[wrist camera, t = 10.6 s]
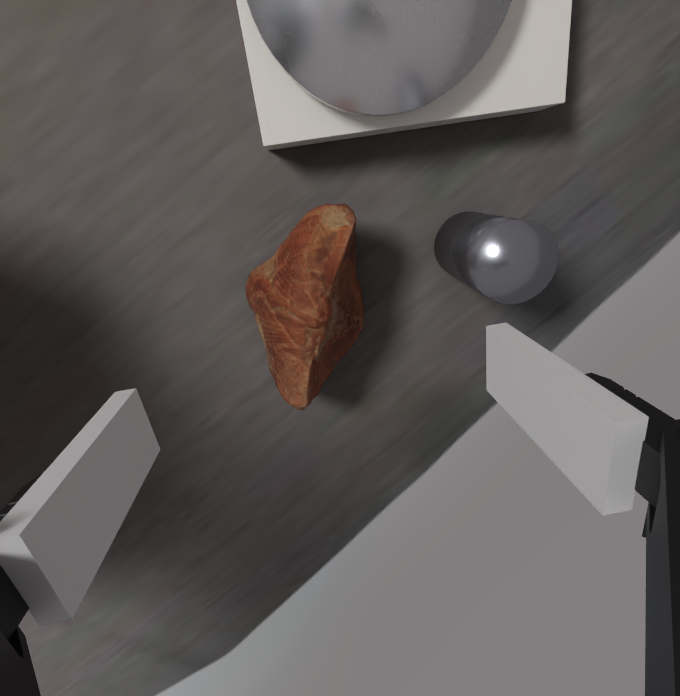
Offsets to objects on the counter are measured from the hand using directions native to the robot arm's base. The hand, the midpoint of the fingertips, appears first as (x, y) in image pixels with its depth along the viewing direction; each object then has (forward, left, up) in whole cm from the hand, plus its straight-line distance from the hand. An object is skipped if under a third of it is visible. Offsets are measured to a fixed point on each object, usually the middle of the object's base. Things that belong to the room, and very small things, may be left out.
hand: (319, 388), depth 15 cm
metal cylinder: (+11, +2, -16) cm, 20 cm away
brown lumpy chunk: (-1, 0, -16) cm, 16 cm away
